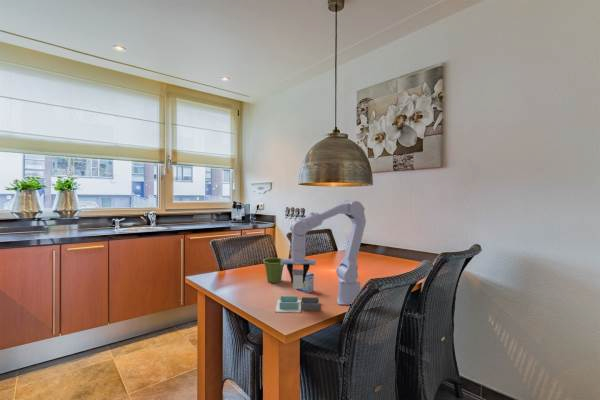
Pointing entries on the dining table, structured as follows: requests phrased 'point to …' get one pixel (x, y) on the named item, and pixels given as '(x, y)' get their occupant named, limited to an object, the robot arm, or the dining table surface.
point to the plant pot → (273, 269)
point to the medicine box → (308, 283)
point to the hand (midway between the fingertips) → (297, 282)
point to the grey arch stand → (310, 303)
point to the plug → (297, 278)
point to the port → (289, 304)
